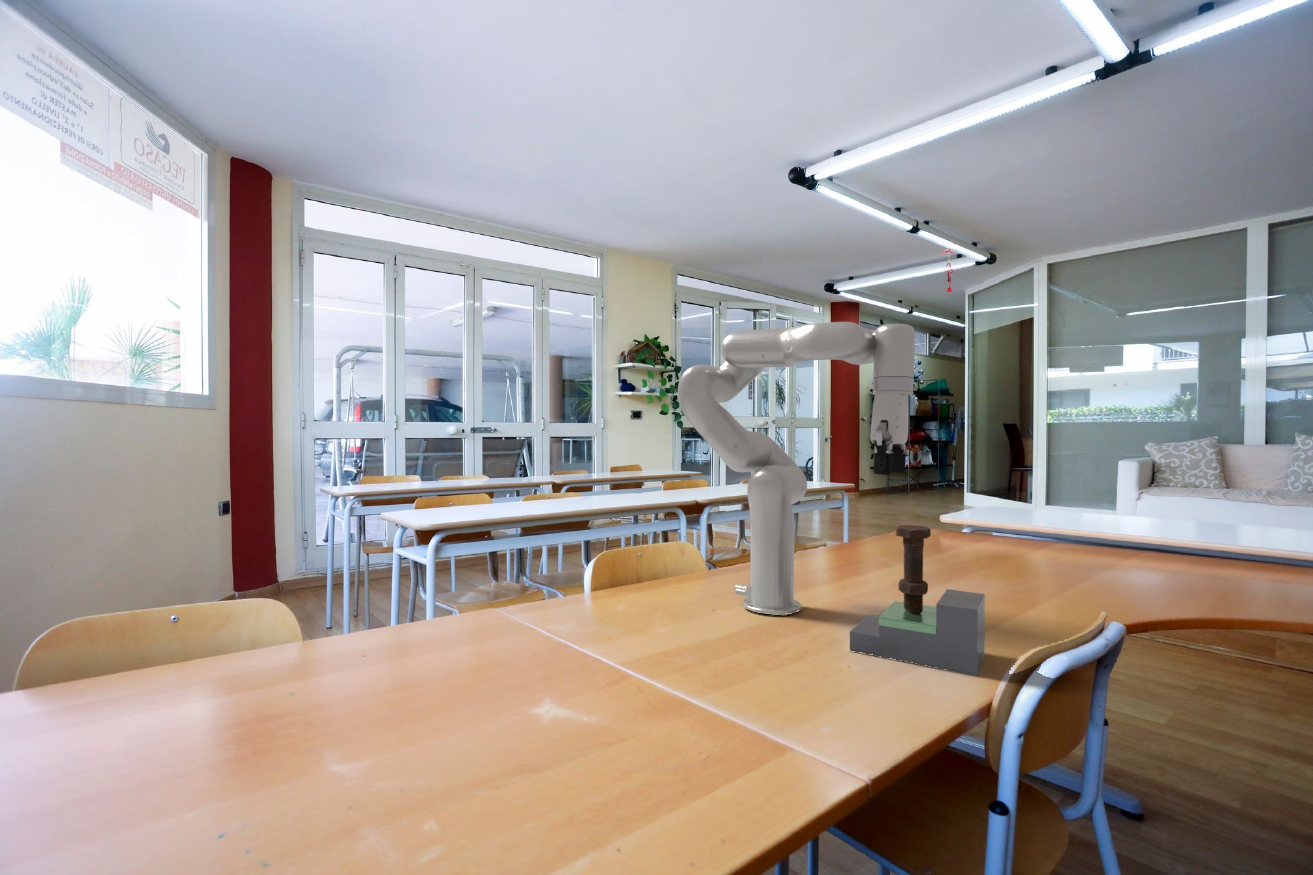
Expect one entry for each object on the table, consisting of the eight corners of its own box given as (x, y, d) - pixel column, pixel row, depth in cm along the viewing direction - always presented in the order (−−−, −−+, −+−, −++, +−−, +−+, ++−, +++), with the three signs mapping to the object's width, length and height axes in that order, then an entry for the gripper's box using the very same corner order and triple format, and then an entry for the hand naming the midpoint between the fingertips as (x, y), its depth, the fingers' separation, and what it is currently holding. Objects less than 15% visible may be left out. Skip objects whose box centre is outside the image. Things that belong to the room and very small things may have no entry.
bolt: (925, 608, 109) (925, 525, 109) (935, 616, 104) (935, 529, 104) (892, 607, 110) (892, 524, 110) (900, 615, 105) (900, 529, 105)
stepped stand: (849, 651, 107) (849, 592, 107) (867, 633, 117) (867, 578, 117) (977, 676, 96) (977, 610, 96) (984, 653, 106) (984, 593, 106)
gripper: (886, 390, 130) (883, 470, 130) (859, 384, 116) (856, 474, 116) (923, 390, 125) (920, 473, 126) (900, 383, 111) (897, 476, 112)
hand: (889, 473), depth 121 cm, fingers open, 9 cm apart
